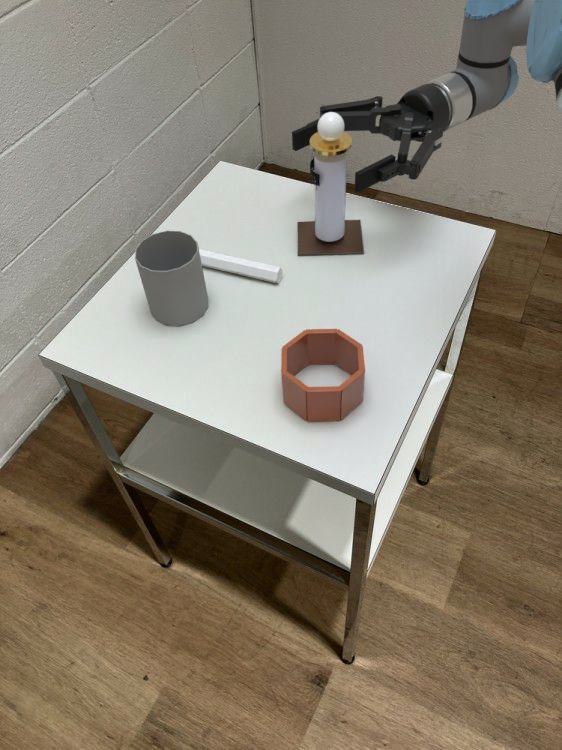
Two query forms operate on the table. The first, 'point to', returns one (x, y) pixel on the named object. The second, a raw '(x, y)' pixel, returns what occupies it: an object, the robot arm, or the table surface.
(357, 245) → the coaster
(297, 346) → the holder
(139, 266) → the cup
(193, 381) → the table surface
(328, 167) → the perfume bottle
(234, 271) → the marker
